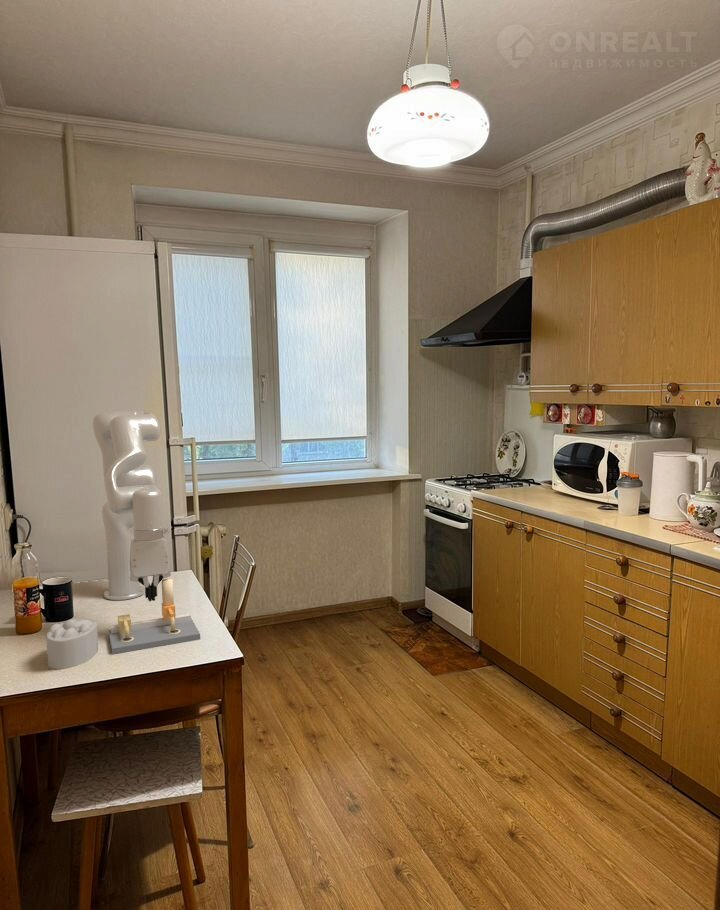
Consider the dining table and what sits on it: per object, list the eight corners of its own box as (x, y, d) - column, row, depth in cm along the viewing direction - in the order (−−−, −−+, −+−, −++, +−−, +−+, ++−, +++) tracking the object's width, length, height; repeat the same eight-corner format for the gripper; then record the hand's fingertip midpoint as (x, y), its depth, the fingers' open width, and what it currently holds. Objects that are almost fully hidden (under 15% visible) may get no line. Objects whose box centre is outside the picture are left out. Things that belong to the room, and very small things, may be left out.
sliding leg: (162, 620, 177) (160, 578, 176) (173, 618, 178) (171, 577, 177) (167, 631, 168) (165, 588, 167) (178, 629, 170) (177, 586, 169)
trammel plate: (108, 635, 172) (107, 617, 171) (190, 621, 181) (190, 604, 180) (112, 654, 159) (111, 634, 159) (200, 639, 168) (199, 620, 168)
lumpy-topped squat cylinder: (103, 647, 164) (101, 615, 163) (79, 669, 151) (77, 634, 150) (64, 647, 164) (62, 615, 163) (37, 669, 151) (34, 634, 150)
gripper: (174, 529, 178) (177, 591, 180) (118, 534, 172) (121, 599, 174) (178, 534, 171) (181, 599, 173) (120, 540, 165) (123, 608, 167)
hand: (151, 599), depth 173 cm, fingers closed
